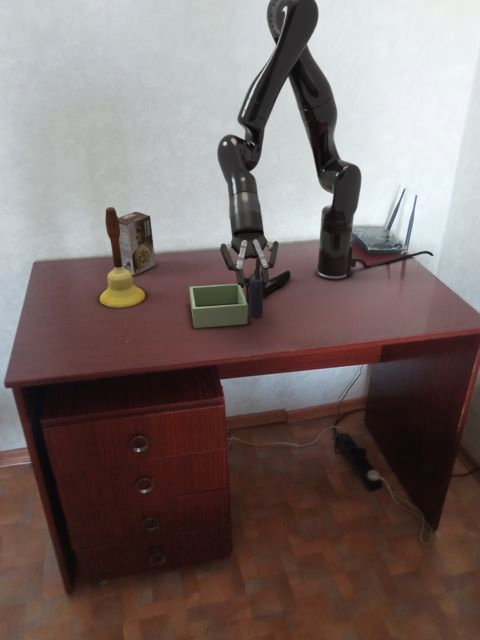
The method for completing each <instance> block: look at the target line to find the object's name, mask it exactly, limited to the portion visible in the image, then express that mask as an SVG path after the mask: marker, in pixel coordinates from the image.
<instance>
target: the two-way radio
mask: <svg viewBox="0 0 480 640" xmlns="http://www.w3.org/2000/svg"><path fill="white" fill-rule="evenodd" d="M244 283H245V293H246V296H245V299H246V302H247V314H248V316H249V318H251V319H254V320H259V319H260V320H261V319H262V318H263V315H264V314H263V313H264V297H263V277H262V275H261V268H260V259H259V258H258V257H257V258H256V259H255V268H254V271H253V273H251V274H250V275H249V276H248V277H247V276H244Z"/></svg>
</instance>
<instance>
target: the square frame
mask: <svg viewBox="0 0 480 640" xmlns="http://www.w3.org/2000/svg"><path fill="white" fill-rule="evenodd" d="M188 288H189V302H190V303H189V305H190V310H191V317H192V325H193V329H201V328H213V327H228V326H239V325H248V303H247V301H246V296H245V294H244V291H243V288H241V286H240V285H238V284H237V283H227V284H210V285H196V286H189V287H188Z"/></svg>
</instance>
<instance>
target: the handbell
mask: <svg viewBox="0 0 480 640" xmlns="http://www.w3.org/2000/svg"><path fill="white" fill-rule="evenodd" d="M104 217H105V221H104V222H105V229H106V235H107V236H108V238H109V242H110V247H111V254H112V261H113V269H112V270H110V272H109V273H108V274H107V285H108V286H107V288H106V290H104V291H102V293H101V294H100V296H99V302H100V303H101V304H102V305H104V306H105V307H109V308H110V307H111V308H127V307H132V306H136V305H137V304H140V303H141V302H142V301H144V300H145V298H146V293H145V291H144V290H143V289H142V288H140V287H138V286H136V285H135V284H134V279H133V275H132V274H131V272H130V271H128V270H126V269H124V268H123V266H122V259H121V252H120V244H119V236H120V226H119V220H118V218H119V217H118V214H117V210H116V208H114V207H113V206H110V207H106V208H105V216H104Z"/></svg>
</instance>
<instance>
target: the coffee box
mask: <svg viewBox="0 0 480 640" xmlns="http://www.w3.org/2000/svg"><path fill="white" fill-rule="evenodd" d="M118 220H119V226H120V236H119V244H120V252H121V259H122V266H123V268H124V269H126V270H128V271H130V272H131V274H132V276H136V275H139V274H141V273H142V272H145V271H147V270H149V269H151V268H153V267H155V266H156V257H155V248H154V240H153V230H152V220H151V215H148V214H145V213H143V212H141V211H140V212H139V211H134V212H130V213H127V214H125V215H122V216H119V217H118Z"/></svg>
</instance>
